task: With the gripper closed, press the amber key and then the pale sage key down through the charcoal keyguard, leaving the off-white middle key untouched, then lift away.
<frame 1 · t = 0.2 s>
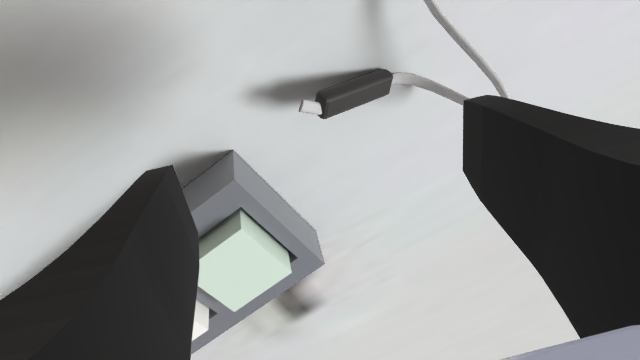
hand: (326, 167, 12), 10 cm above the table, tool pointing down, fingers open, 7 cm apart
keypad: (162, 277, 25), on the table
sage key: (237, 259, 21), point 3 cm above the table, slide at 0.0 cm
middle key: (156, 316, 22), point 3 cm above the table, slide at 0.0 cm
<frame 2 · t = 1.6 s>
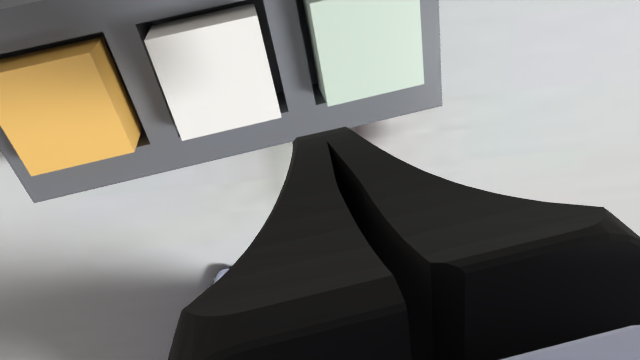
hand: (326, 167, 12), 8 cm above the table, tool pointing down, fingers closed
amber key: (66, 106, 15), point 3 cm above the table, slide at 0.0 cm
keypad: (218, 48, 18), on the table
sage key: (363, 38, 16), point 3 cm above the table, slide at 0.0 cm
middle key: (217, 72, 16), point 3 cm above the table, slide at 0.0 cm
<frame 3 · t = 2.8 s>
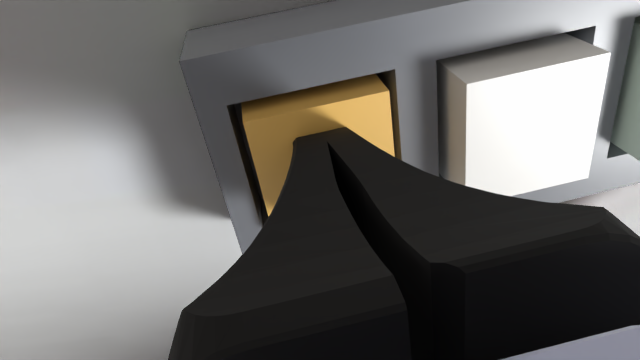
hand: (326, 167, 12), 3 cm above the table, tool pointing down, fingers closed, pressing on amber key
amber key: (321, 152, 12), point 2 cm above the table, slide at 0.6 cm, touching gripper
keypad: (468, 83, 14), on the table
middle key: (513, 120, 12), point 3 cm above the table, slide at 0.0 cm
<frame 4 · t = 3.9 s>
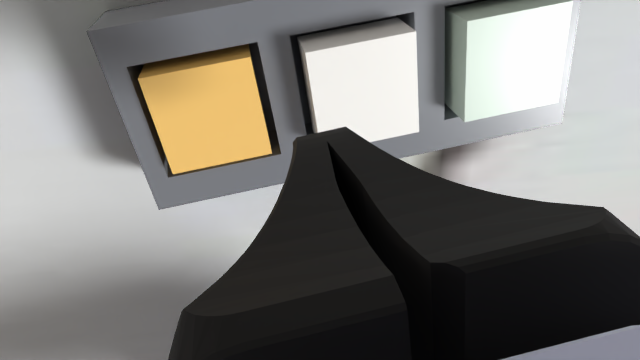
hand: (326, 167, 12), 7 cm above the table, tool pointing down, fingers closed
amber key: (210, 107, 16), point 2 cm above the table, slide at 0.6 cm
keypad: (342, 60, 18), on the table
sage key: (502, 56, 16), point 3 cm above the table, slide at 0.0 cm
middle key: (359, 85, 16), point 3 cm above the table, slide at 0.0 cm
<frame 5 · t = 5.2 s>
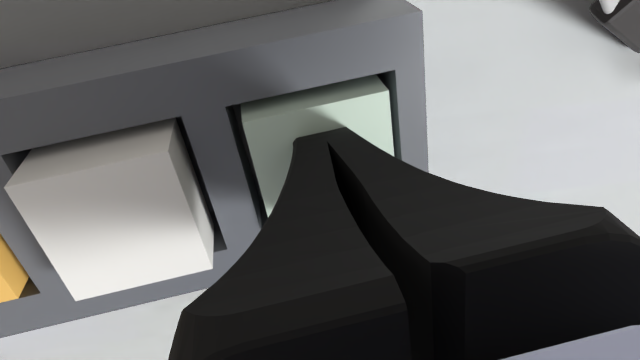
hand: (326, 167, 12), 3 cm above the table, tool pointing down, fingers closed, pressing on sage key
keypad: (141, 156, 14), on the table
sage key: (320, 152, 12), point 2 cm above the table, slide at 0.6 cm, touching gripper
middle key: (125, 209, 12), point 3 cm above the table, slide at 0.0 cm
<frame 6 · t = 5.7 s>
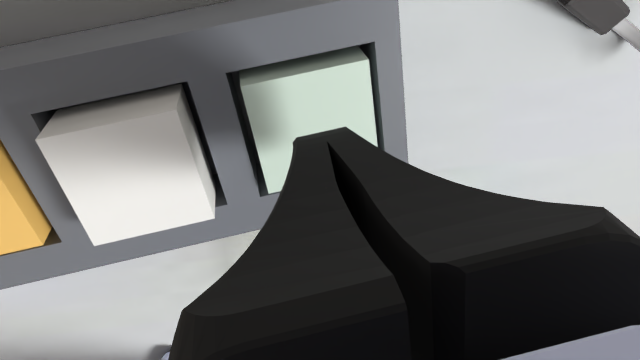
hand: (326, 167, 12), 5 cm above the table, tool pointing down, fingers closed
keypad: (150, 123, 15), on the table
sage key: (310, 117, 14), point 2 cm above the table, slide at 0.6 cm
middle key: (137, 165, 13), point 3 cm above the table, slide at 0.0 cm
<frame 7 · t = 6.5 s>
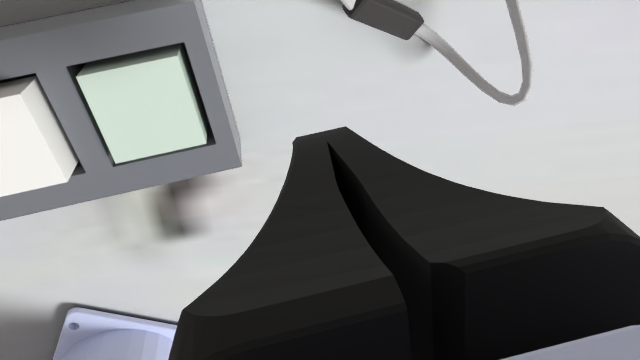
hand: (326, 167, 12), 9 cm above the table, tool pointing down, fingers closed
keypad: (30, 109, 19), on the table
sage key: (148, 102, 17), point 2 cm above the table, slide at 0.6 cm
middle key: (4, 139, 17), point 3 cm above the table, slide at 0.0 cm
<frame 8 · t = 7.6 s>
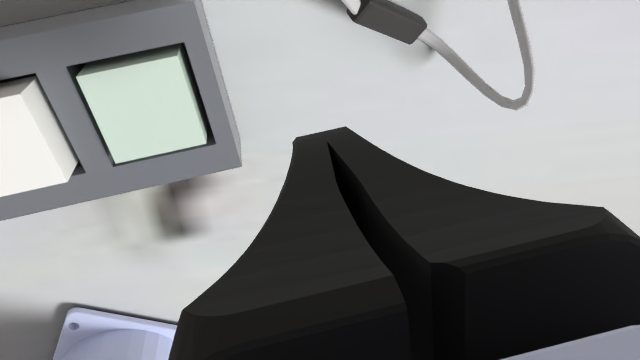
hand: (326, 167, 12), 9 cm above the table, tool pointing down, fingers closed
keypad: (30, 109, 19), on the table
sage key: (148, 102, 17), point 2 cm above the table, slide at 0.6 cm
middle key: (4, 139, 17), point 3 cm above the table, slide at 0.0 cm
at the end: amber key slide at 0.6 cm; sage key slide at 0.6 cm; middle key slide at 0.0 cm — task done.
